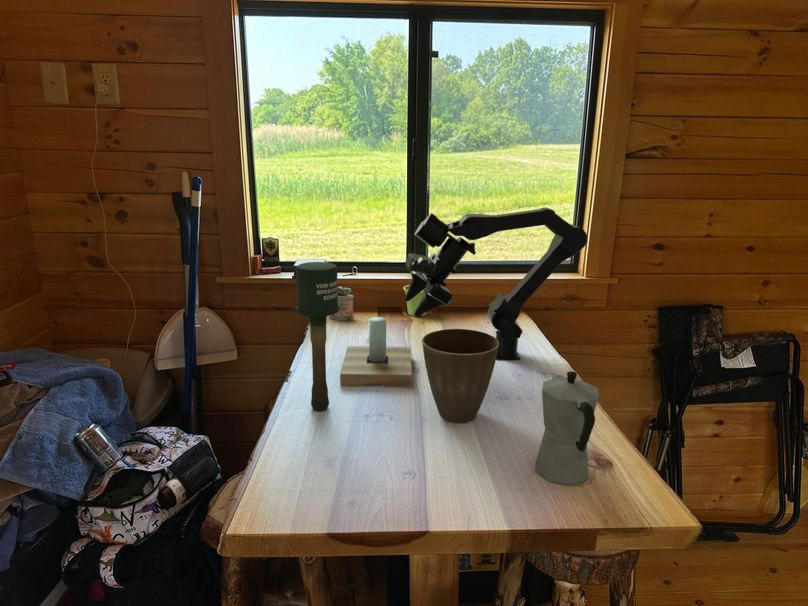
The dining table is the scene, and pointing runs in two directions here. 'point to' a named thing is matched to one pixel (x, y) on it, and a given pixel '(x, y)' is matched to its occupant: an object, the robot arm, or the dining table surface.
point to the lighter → (344, 305)
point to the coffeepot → (566, 429)
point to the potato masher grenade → (317, 318)
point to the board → (376, 368)
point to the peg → (377, 340)
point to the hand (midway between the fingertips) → (410, 307)
